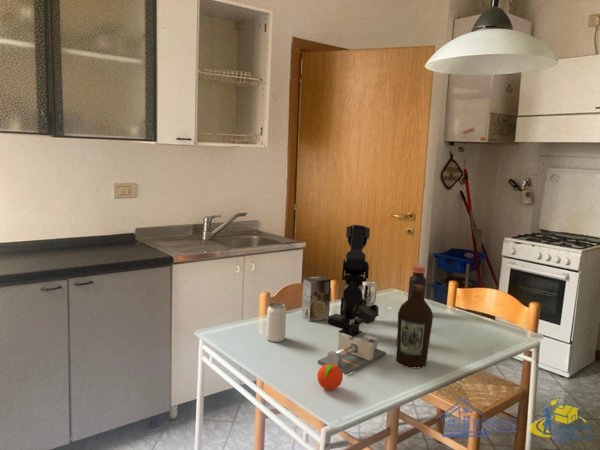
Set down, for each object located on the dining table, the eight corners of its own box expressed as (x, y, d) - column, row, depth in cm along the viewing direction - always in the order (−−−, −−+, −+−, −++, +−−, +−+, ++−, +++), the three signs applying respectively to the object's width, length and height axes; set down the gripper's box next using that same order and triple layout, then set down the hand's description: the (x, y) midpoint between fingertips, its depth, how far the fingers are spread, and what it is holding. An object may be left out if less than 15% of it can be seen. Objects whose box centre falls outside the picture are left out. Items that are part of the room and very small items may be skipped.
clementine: (336, 398, 130) (338, 373, 129) (311, 392, 133) (313, 367, 132) (344, 386, 138) (346, 361, 137) (321, 380, 140) (322, 356, 139)
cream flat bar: (341, 347, 161) (342, 333, 161) (372, 358, 154) (374, 343, 153) (338, 349, 160) (339, 334, 159) (369, 360, 152) (370, 345, 152)
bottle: (424, 316, 203) (429, 269, 201) (408, 315, 203) (412, 268, 201) (421, 311, 210) (425, 265, 207) (405, 310, 210) (409, 264, 207)
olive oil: (397, 353, 163) (403, 279, 160) (430, 359, 160) (437, 284, 156) (391, 365, 153) (397, 286, 150) (425, 372, 150) (433, 292, 146)
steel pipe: (366, 345, 166) (367, 334, 165) (376, 348, 163) (377, 338, 163) (326, 364, 149) (327, 352, 149) (337, 368, 146) (338, 356, 146)
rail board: (357, 345, 168) (357, 342, 168) (385, 354, 161) (386, 351, 161) (317, 363, 151) (317, 360, 151) (347, 375, 144) (347, 371, 144)
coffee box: (320, 314, 199) (322, 275, 197) (329, 319, 194) (331, 279, 191) (300, 316, 194) (303, 277, 192) (309, 321, 189) (311, 281, 187)
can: (282, 343, 166) (284, 309, 164) (263, 341, 167) (265, 306, 165) (286, 336, 172) (288, 303, 170) (268, 334, 173) (270, 301, 172)
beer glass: (377, 320, 195) (380, 283, 193) (369, 324, 190) (372, 286, 187) (361, 316, 199) (363, 280, 197) (353, 320, 193) (356, 283, 191)
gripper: (357, 306, 147) (354, 356, 149) (389, 295, 161) (385, 341, 163) (327, 298, 154) (324, 346, 156) (360, 288, 168) (357, 332, 170)
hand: (349, 341), depth 161 cm, fingers closed
